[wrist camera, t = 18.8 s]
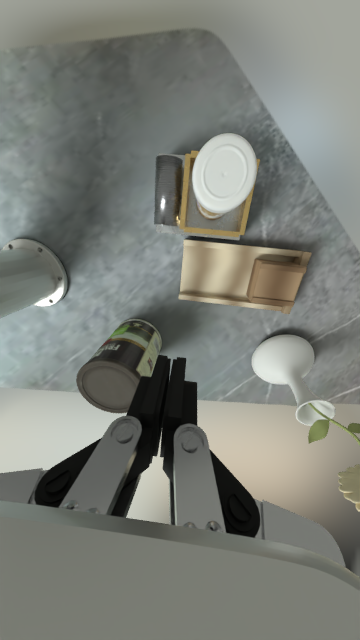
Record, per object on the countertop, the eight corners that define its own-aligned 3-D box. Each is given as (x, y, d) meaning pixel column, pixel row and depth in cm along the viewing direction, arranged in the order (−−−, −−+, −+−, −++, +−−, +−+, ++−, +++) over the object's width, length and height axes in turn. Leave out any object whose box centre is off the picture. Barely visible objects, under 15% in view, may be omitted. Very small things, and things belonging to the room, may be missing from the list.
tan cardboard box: (245, 294, 33) (251, 302, 29) (254, 258, 30) (261, 262, 26) (281, 298, 33) (292, 307, 29) (293, 262, 30) (307, 267, 26)
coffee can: (105, 332, 41) (61, 378, 28) (142, 309, 38) (111, 349, 25) (135, 366, 44) (108, 421, 31) (171, 347, 41) (157, 400, 28)
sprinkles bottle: (190, 195, 25) (179, 161, 13) (221, 172, 24) (241, 110, 12) (206, 227, 27) (210, 224, 15) (236, 208, 25) (269, 185, 13)
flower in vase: (245, 374, 42) (298, 545, 19) (254, 328, 37) (338, 482, 14) (308, 379, 40) (445, 567, 18) (326, 332, 36) (543, 507, 13)
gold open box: (161, 232, 31) (150, 232, 25) (164, 163, 27) (152, 142, 21) (234, 239, 31) (243, 241, 24) (248, 170, 27) (263, 150, 20)
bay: (180, 294, 35) (177, 300, 32) (185, 239, 31) (183, 239, 28) (281, 306, 34) (289, 314, 31) (300, 250, 30) (311, 252, 27)
